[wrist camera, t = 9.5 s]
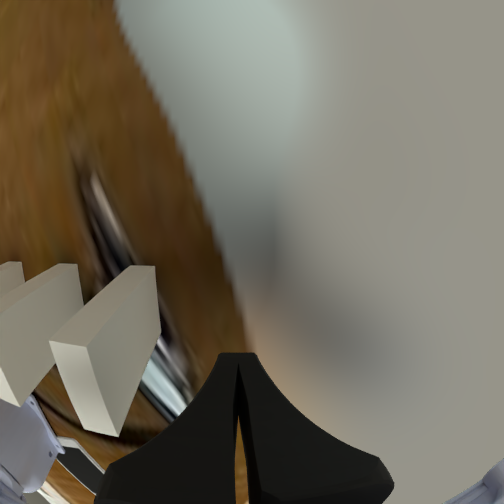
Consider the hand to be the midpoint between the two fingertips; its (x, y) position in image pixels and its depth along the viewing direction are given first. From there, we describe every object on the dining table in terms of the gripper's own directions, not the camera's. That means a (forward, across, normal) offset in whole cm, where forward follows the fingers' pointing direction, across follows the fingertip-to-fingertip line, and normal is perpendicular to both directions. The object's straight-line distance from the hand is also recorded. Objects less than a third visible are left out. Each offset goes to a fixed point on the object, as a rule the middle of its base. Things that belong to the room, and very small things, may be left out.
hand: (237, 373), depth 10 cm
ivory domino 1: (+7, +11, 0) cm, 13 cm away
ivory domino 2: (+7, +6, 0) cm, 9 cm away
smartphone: (+8, +18, +25) cm, 32 cm away
